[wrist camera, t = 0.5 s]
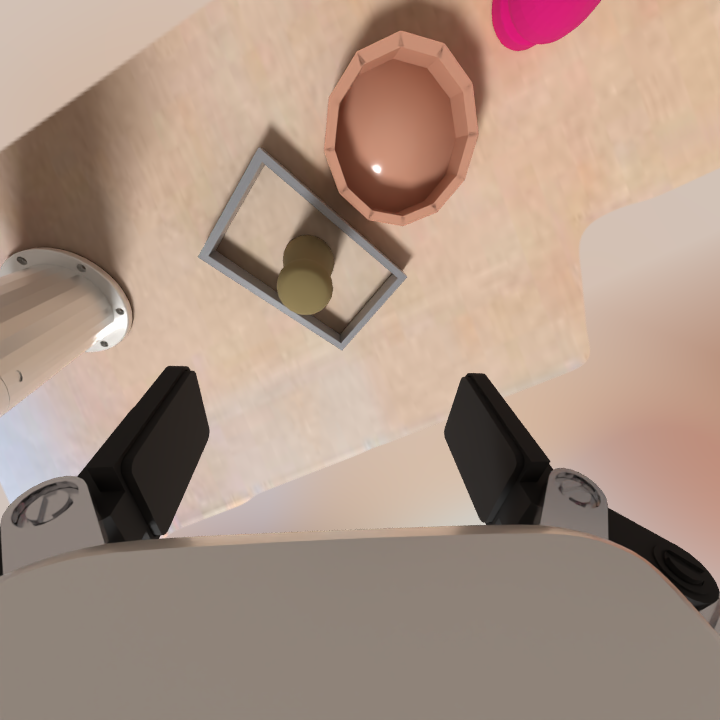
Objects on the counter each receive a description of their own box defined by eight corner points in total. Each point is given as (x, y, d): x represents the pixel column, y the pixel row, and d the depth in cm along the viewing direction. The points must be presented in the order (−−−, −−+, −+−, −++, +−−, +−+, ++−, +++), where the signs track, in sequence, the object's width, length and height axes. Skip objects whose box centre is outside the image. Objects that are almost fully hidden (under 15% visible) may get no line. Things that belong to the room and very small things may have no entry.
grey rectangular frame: (341, 341, 43) (341, 350, 41) (205, 251, 35) (197, 257, 33) (402, 270, 38) (407, 276, 36) (263, 148, 30) (258, 147, 28)
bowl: (395, 244, 36) (403, 251, 33) (298, 154, 31) (295, 153, 27) (486, 134, 31) (506, 131, 28) (390, 4, 26) (400, -21, 22)
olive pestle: (274, 243, 35) (257, 271, 26) (325, 228, 35) (326, 250, 25) (294, 291, 38) (285, 331, 29) (340, 278, 38) (345, 314, 29)
